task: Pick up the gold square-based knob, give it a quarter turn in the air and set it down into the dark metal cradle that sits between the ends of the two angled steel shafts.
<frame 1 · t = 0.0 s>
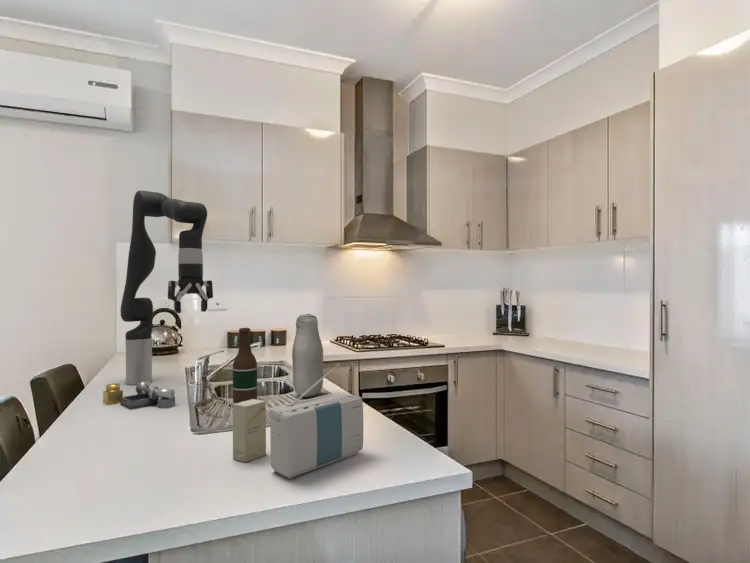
hand: (191, 312, 158), 29 cm above the counter, tool pointing down, fingers open, 8 cm apart
beer bottle: (245, 402, 157), on the counter
stereo radio cassette player: (317, 464, 103), on the counter
gold square-based knob: (113, 403, 157), on the counter
shaft right: (162, 396, 152), on the counter
skincare box: (249, 457, 107), on the counter
cradle: (139, 404, 154), on the counter
grey bottle: (308, 397, 163), on the counter
shaft left: (144, 389, 163), on the counter
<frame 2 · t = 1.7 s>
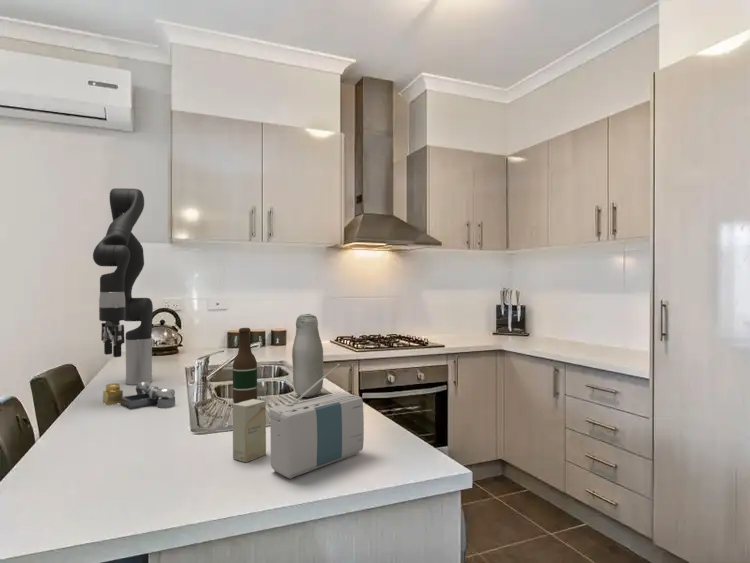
hand: (112, 355, 157), 15 cm above the counter, tool pointing down, fingers open, 8 cm apart
nothing on the counter moved.
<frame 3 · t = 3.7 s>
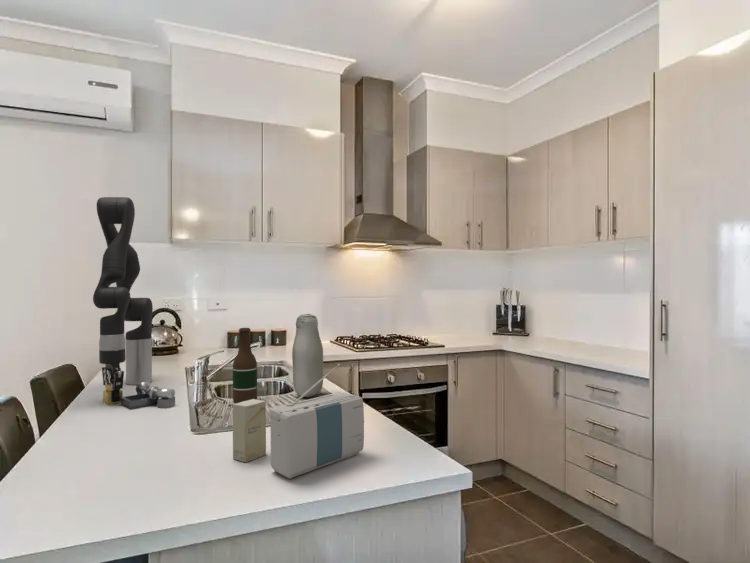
hand: (112, 400, 157), 1 cm above the counter, tool pointing down, fingers closed on gold square-based knob, 4 cm apart
gold square-based knob: (112, 402, 157), on the counter, touching gripper
everything else where it was.
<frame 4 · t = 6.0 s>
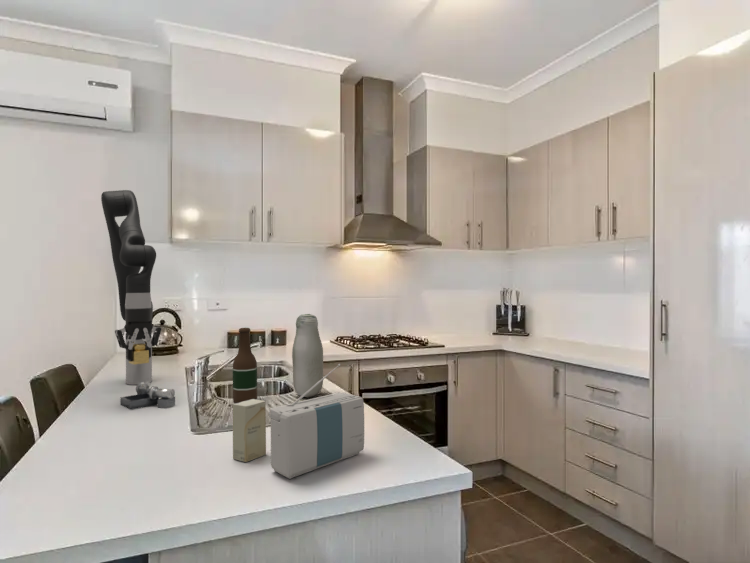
hand: (138, 359, 154), 14 cm above the counter, tool pointing down, fingers closed on gold square-based knob, 4 cm apart
gold square-based knob: (138, 362, 154), point 13 cm above the counter, touching gripper
everything else where it was.
when the fingers open (3 cm above the counter, at t = 8.3 s): gold square-based knob drops 2 cm, resting on cradle.
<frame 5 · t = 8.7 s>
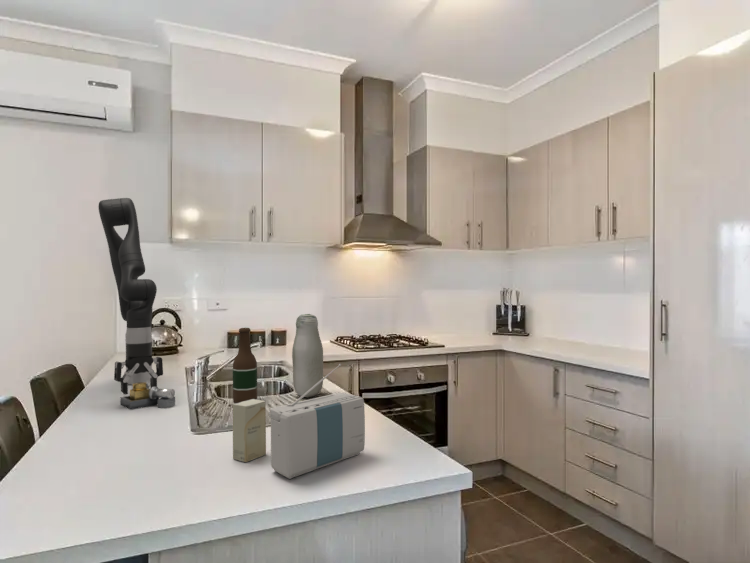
hand: (139, 391, 154), 4 cm above the counter, tool pointing down, fingers open, 8 cm apart
gold square-based knob: (139, 401, 154), point 1 cm above the counter, touching cradle
everything else where it was.
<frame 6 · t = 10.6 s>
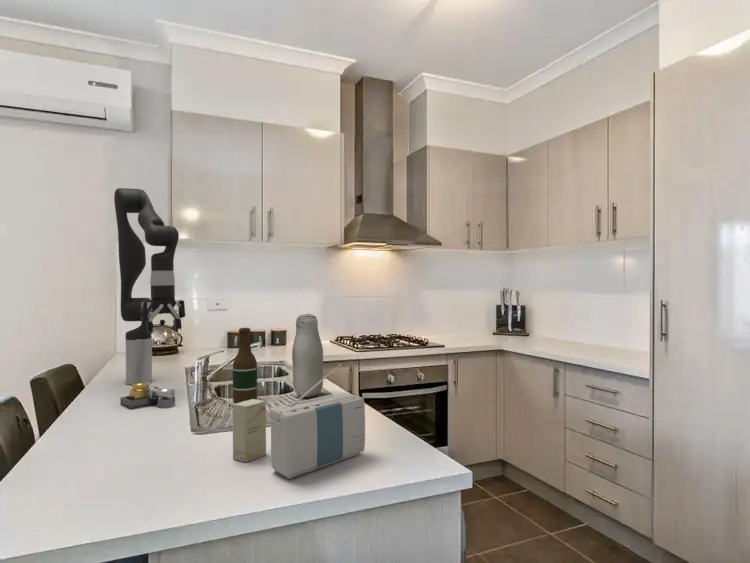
hand: (163, 331, 165), 22 cm above the counter, tool pointing down, fingers open, 8 cm apart
nothing on the counter moved.
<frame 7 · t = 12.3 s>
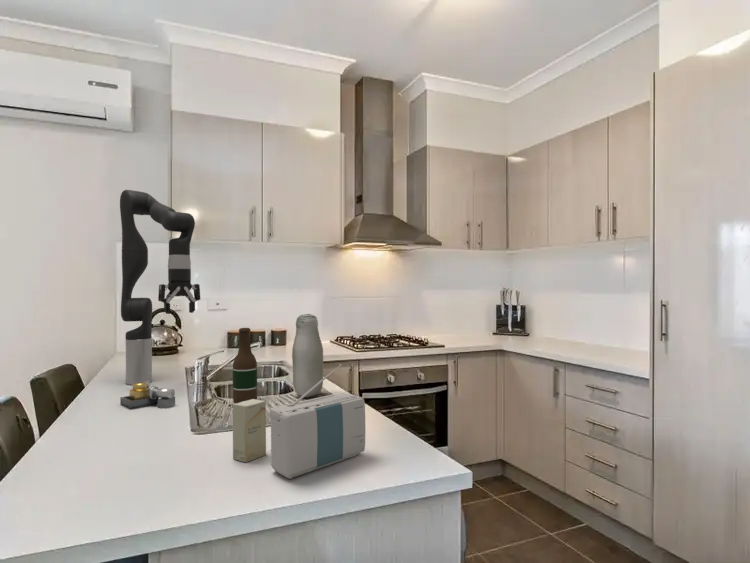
hand: (179, 313, 172), 28 cm above the counter, tool pointing down, fingers open, 8 cm apart
nothing on the counter moved.
at the end: gold square-based knob 0.1 cm off-centre on the cradle, point 0.8 cm above the cradle's base; gold square-based knob tilted 0°; the gripper is holding nothing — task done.
